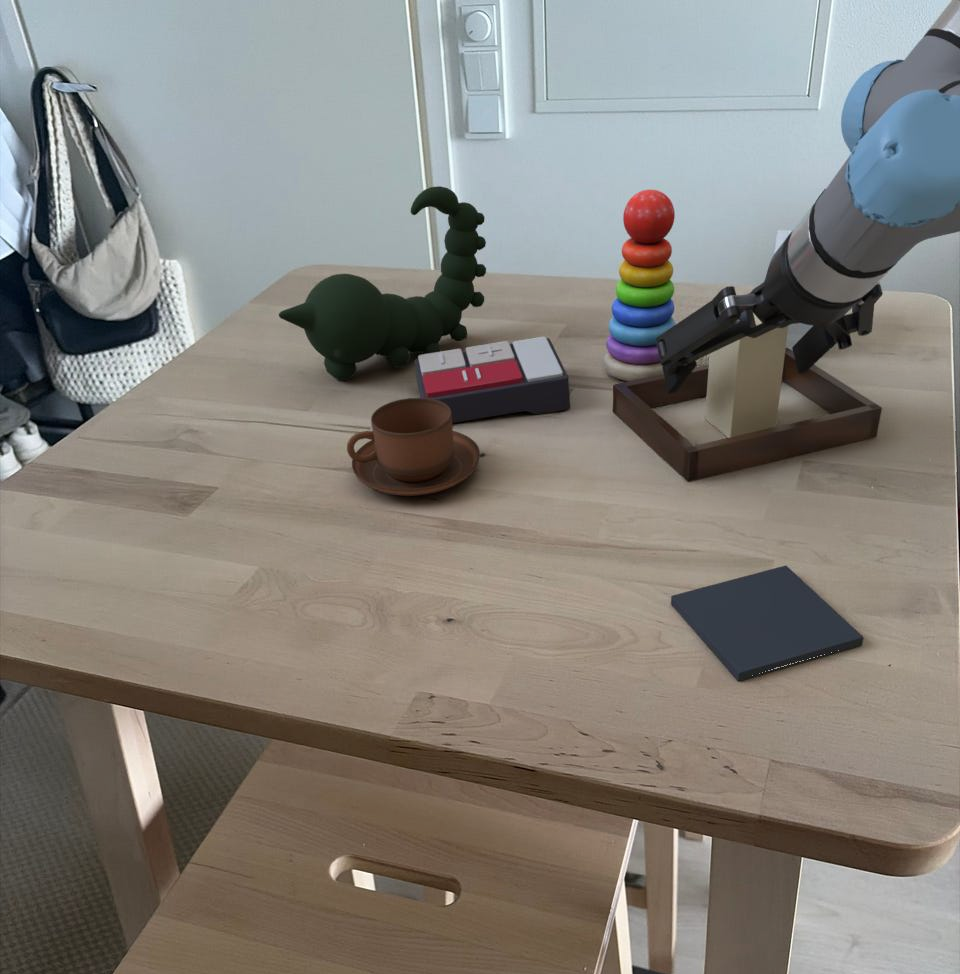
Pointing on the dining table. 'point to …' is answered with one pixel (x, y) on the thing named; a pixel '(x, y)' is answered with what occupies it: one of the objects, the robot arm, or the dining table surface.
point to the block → (746, 383)
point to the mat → (765, 622)
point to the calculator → (495, 379)
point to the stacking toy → (642, 289)
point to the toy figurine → (396, 301)
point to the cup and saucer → (413, 449)
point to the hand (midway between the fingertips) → (734, 369)
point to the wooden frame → (842, 426)
